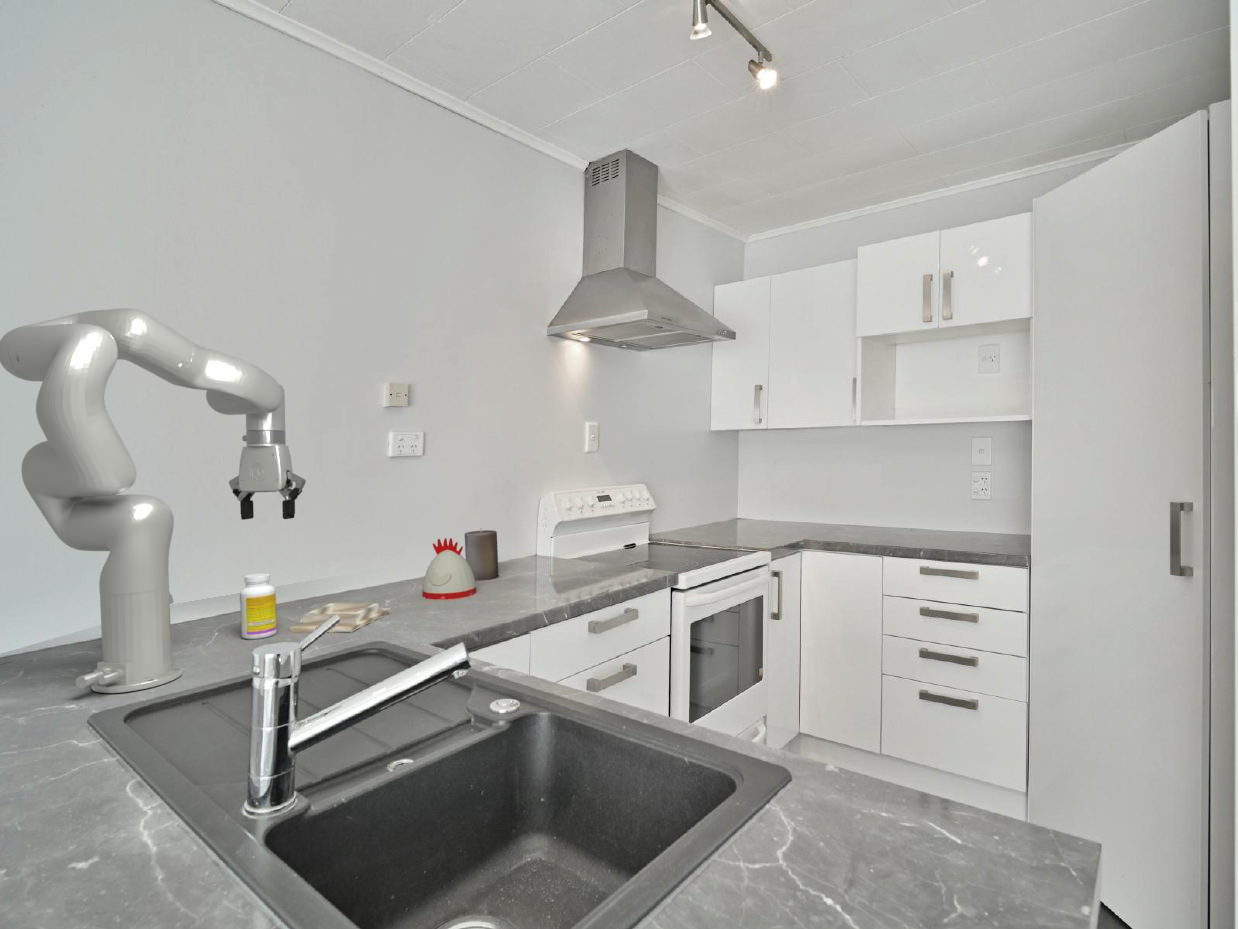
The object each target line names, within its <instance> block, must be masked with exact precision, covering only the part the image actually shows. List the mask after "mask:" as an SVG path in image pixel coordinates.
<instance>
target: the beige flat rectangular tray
mask: <svg viewBox="0 0 1238 929" xmlns="http://www.w3.org/2000/svg"><path fill="white" fill-rule="evenodd" d="M390 612H391V613H392V608H389V607H386V608H385V607H382V603H381V602H355V601H354V602H347V601H346V602H344V601H343V602H339V601H338V602H336V601H334V602H331V603H328V604H325V605H323V606H320V607H318V608H316V609H313V610H311V611H309V612H306V613H304V614H302V622H300V623H296V624H295V625H293V626H290V627H289V632H290V633H313V632H312V630H315V628H316V627H318V626H319V625H321V624H322V623H323V622H325V620H326V619H329V617H330V616H333V615H336V614H339V615H340V616H341V620H340V622H339V624H338V625H337V626H336V627H335V628H333V629H332V630H330V631H329V633H328V634H332V633H333V632H334V631H349V630H354V629H356V628H357V627H359V626H363V625H364V624H366V623H369V622H371V621H372V620H374V619H377V618H379V617H381V616H384V615H385V614H387V613H389V614H391V613H390ZM387 615H388V614H387ZM384 617H385V616H384ZM331 632H332V633H331ZM333 634H334V633H333Z"/></svg>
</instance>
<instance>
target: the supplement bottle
mask: <svg viewBox="0 0 1238 929" xmlns="http://www.w3.org/2000/svg"><path fill="white" fill-rule="evenodd" d="M270 580H271V576H270V573H265V572H262V573H260V572H259V573H251V574H247V575H245V576H244V581H243V582H244V584H245V587H243V588H242V589H241V590H240V592H239V608H240V609H239V610H240V612H239V613H240V634H241V636H240V637H242V639H246V640H260V639H265V638H269V637H272V636H274V635H275V634H277V632H278V628H277V627H278V625H277V624H278V622H277V621H278V620H277V600H276V598H277V597H276V596H277V595H276V588H275V587H274V586H273V585H271V584H269V583H270Z"/></svg>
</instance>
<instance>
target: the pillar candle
mask: <svg viewBox="0 0 1238 929" xmlns="http://www.w3.org/2000/svg"><path fill="white" fill-rule="evenodd" d="M497 532H498V531H496V530H492V529H490V530H482V527H480V530H474V531H473V530H472V531H467V532H465V533H464V552H465V553H464V554H465V555H464V556H465V557H464V558H465V560H466V561H467V562H468V564H469V566H470V568H471V570H472V573H473V576H474V579H475V581H483V580H484V581H485V580H491V579H497V578H498V577H499V576H500V575H499V556H498V552H499V551H498V533H497Z"/></svg>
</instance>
